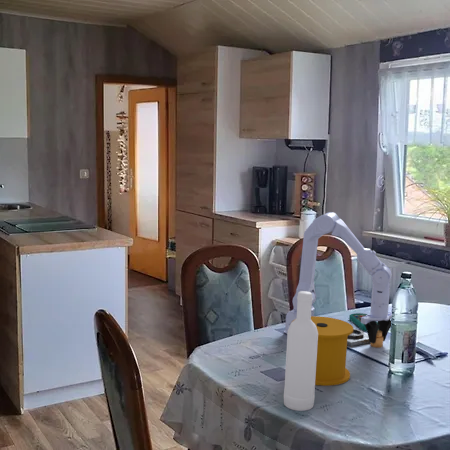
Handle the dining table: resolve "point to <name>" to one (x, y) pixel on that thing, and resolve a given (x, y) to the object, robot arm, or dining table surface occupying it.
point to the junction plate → (357, 338)
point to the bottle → (301, 357)
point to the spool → (331, 350)
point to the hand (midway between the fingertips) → (376, 341)
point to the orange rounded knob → (378, 340)
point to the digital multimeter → (358, 320)
